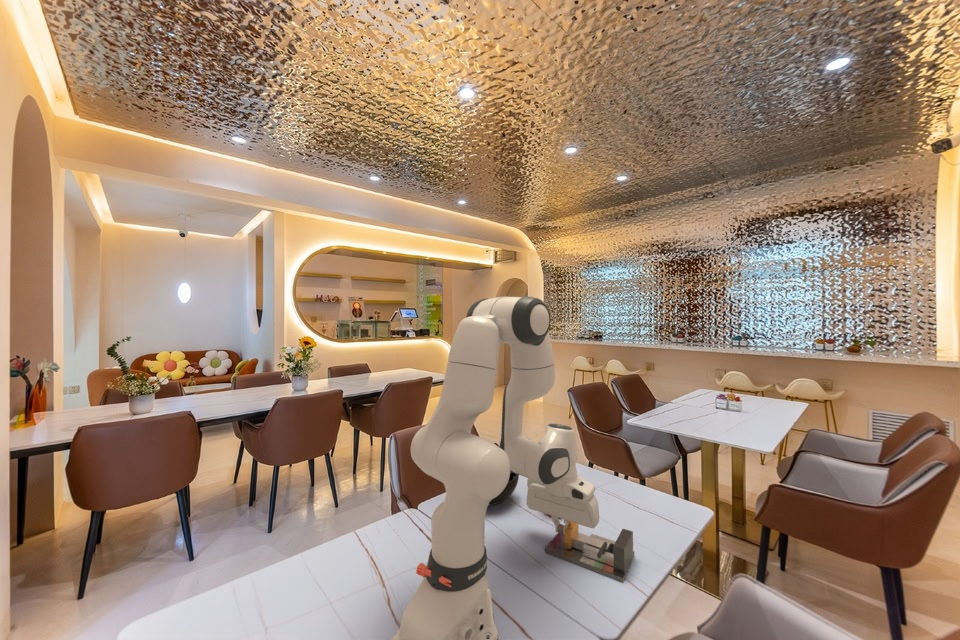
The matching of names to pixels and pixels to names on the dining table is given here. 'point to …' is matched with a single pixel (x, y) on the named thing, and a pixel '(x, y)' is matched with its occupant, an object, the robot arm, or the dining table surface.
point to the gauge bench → (607, 565)
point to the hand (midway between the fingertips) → (561, 532)
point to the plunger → (583, 540)
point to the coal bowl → (506, 488)
